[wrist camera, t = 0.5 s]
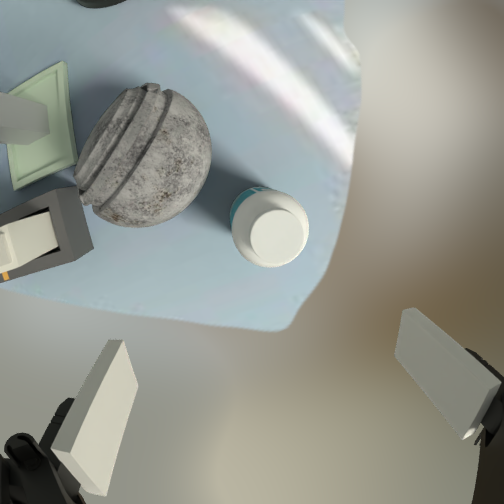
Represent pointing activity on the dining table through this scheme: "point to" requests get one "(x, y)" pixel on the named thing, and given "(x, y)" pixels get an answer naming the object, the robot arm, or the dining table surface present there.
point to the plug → (22, 120)
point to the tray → (60, 125)
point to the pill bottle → (268, 226)
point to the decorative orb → (144, 158)
